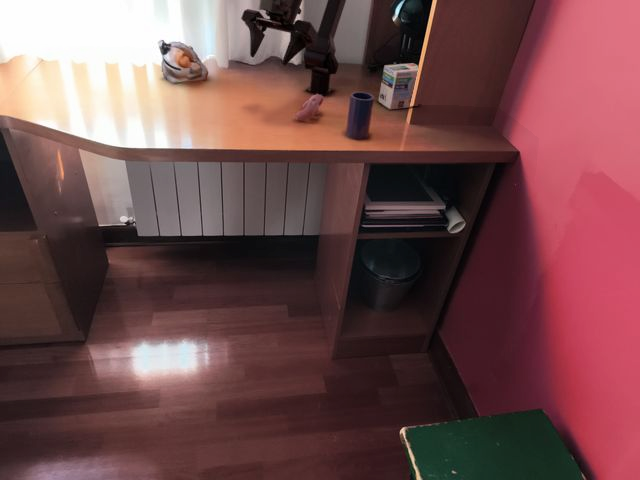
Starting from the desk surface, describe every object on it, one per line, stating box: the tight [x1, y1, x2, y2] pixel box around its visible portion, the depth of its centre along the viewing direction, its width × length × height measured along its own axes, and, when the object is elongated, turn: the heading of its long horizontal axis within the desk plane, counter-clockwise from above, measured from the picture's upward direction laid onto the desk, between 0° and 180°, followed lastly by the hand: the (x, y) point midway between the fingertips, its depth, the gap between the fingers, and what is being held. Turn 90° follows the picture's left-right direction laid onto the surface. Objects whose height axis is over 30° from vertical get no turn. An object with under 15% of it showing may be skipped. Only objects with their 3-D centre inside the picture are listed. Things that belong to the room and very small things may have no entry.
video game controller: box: [295, 93, 325, 122], centre depth 121 cm, size 10×5×7 cm, turn 168°
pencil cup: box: [345, 91, 375, 140], centre depth 112 cm, size 6×6×10 cm
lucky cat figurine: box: [157, 39, 209, 84], centre depth 133 cm, size 15×12×14 cm
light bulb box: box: [377, 62, 419, 110], centre depth 132 cm, size 11×7×11 cm, turn 117°
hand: (267, 60), depth 109 cm, fingers open, 9 cm apart
